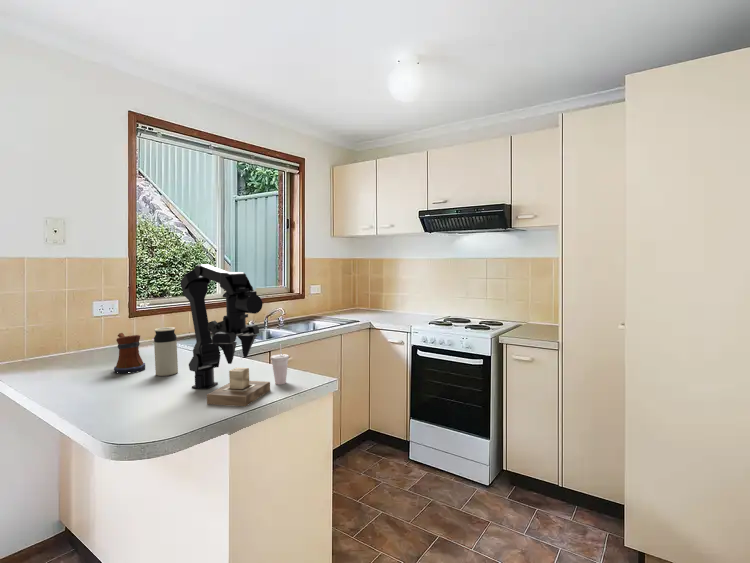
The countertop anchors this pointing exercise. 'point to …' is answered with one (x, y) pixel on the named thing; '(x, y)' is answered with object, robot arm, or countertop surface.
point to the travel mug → (165, 351)
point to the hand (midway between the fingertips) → (237, 360)
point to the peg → (239, 378)
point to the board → (238, 394)
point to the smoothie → (280, 367)
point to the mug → (128, 354)
